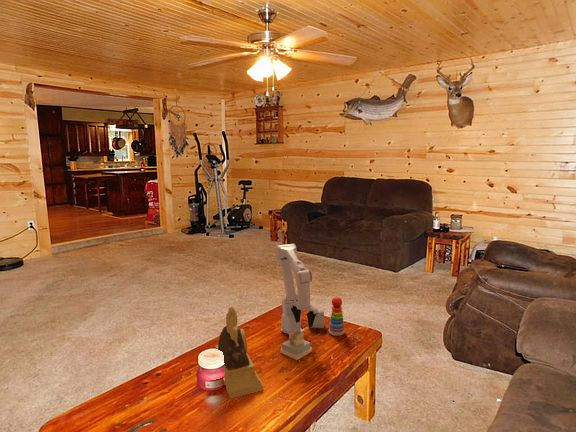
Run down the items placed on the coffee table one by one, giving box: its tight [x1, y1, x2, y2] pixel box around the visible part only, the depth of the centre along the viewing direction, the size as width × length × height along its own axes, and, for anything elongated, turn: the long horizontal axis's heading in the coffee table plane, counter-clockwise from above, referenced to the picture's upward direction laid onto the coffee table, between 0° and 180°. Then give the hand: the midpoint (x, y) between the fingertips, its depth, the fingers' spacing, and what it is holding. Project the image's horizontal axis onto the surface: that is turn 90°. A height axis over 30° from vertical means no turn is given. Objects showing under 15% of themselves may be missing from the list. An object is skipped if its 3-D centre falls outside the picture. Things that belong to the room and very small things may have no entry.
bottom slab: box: [280, 346, 313, 361], centre depth 176 cm, size 10×10×2 cm
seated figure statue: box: [215, 306, 264, 399], centre depth 156 cm, size 28×13×30 cm, turn 22°
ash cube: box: [288, 330, 305, 346], centre depth 175 cm, size 5×5×5 cm
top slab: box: [281, 339, 311, 356], centre depth 175 cm, size 9×9×2 cm
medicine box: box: [307, 308, 325, 329], centre depth 200 cm, size 8×4×9 cm, turn 84°
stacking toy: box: [328, 296, 346, 337], centre depth 192 cm, size 8×8×19 cm
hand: (304, 324), depth 179 cm, fingers open, 7 cm apart
